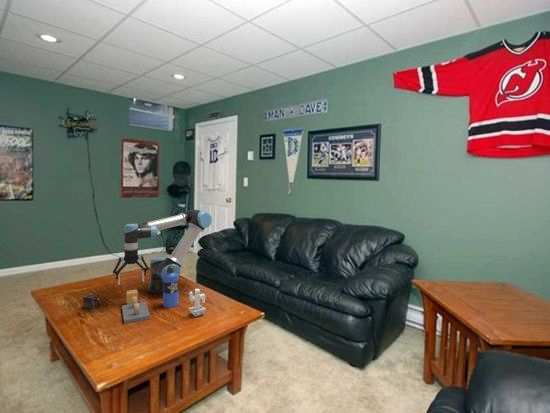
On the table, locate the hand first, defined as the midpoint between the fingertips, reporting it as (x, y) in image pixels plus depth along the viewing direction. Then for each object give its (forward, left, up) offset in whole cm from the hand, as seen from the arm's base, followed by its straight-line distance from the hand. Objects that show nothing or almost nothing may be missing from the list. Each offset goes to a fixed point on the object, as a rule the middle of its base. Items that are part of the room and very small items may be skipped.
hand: (131, 282), depth 189 cm
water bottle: (-21, +12, -14) cm, 28 cm away
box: (+22, -6, -14) cm, 26 cm away
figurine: (-32, +33, -14) cm, 48 cm away
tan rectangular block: (0, 0, -14) cm, 14 cm away
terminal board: (-1, +16, -14) cm, 21 cm away
